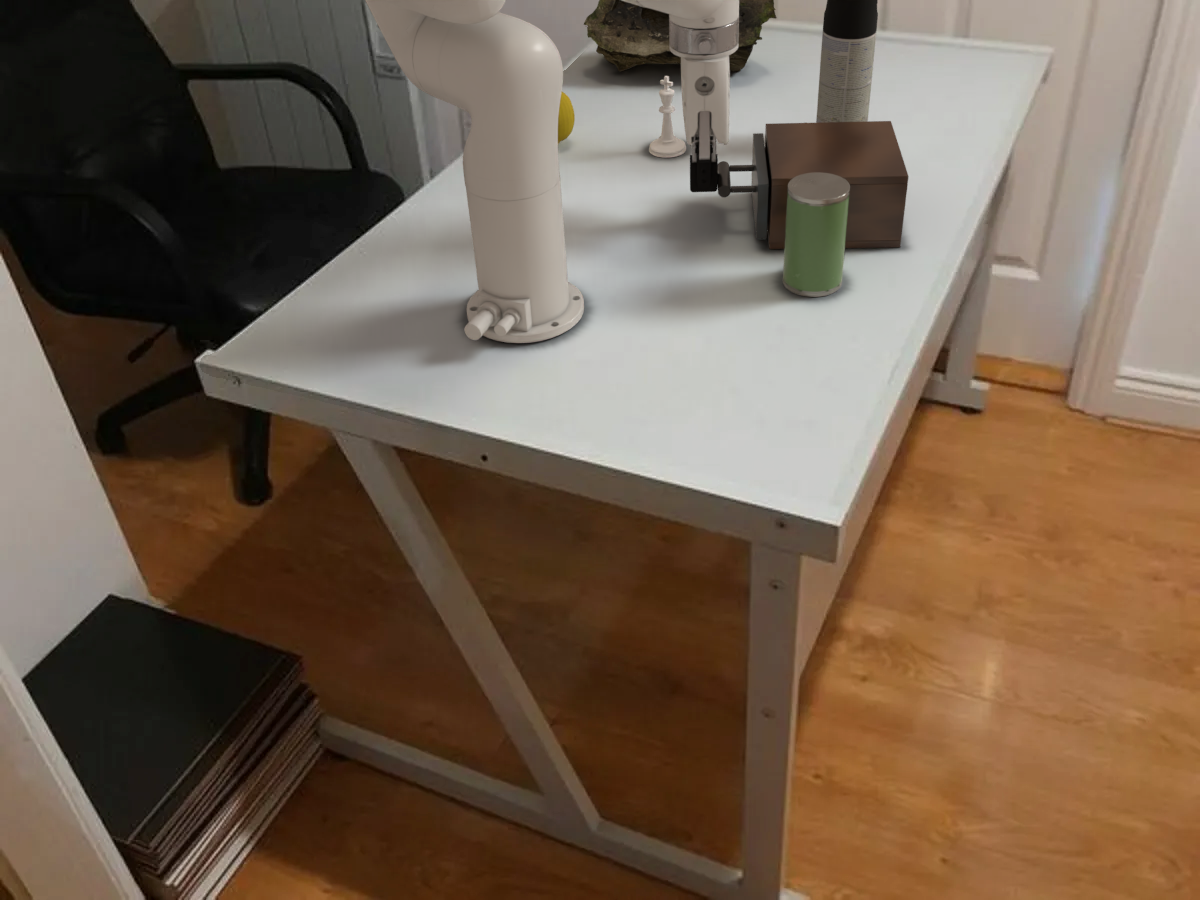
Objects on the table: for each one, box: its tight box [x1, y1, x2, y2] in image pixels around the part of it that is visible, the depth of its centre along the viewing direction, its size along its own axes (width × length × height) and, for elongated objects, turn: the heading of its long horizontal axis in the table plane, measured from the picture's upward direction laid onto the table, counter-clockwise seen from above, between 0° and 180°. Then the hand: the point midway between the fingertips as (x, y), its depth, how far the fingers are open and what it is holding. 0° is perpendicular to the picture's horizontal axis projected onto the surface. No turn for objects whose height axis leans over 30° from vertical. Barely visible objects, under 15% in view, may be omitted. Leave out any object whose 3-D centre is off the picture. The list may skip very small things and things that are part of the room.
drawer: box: [717, 132, 769, 240], centre depth 143 cm, size 18×14×7 cm
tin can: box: [782, 172, 850, 298], centre depth 130 cm, size 6×6×12 cm
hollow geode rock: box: [583, 0, 777, 72], centre depth 182 cm, size 28×13×15 cm
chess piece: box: [648, 75, 687, 159], centre depth 159 cm, size 5×5×10 cm
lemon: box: [558, 91, 576, 145], centre depth 162 cm, size 6×6×8 cm
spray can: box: [815, 0, 879, 123], centre depth 155 cm, size 7×7×20 cm
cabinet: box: [764, 120, 909, 250], centre depth 142 cm, size 15×15×9 cm
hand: (703, 188), depth 144 cm, fingers closed
